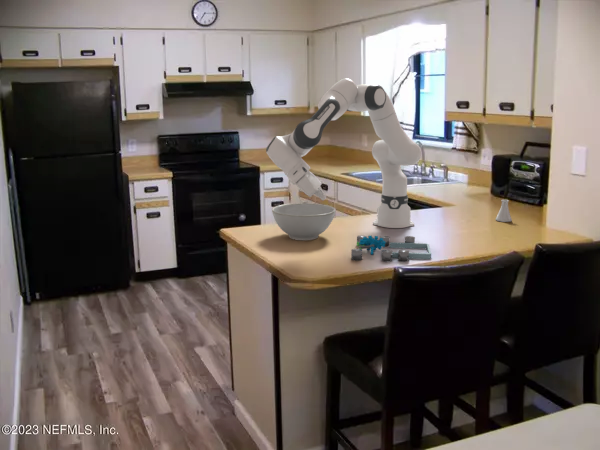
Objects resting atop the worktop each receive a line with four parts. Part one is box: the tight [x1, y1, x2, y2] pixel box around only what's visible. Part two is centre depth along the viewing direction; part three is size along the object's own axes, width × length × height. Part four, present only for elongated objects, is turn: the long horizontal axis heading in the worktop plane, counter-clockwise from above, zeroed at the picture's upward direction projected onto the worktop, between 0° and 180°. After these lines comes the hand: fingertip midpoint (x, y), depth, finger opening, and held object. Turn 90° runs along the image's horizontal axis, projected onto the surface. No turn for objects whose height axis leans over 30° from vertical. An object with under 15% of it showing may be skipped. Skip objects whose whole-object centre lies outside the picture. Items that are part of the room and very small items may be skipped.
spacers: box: [350, 234, 416, 263], centre depth 237 cm, size 26×24×4 cm
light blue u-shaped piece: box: [389, 241, 432, 260], centre depth 236 cm, size 16×15×2 cm
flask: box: [494, 199, 513, 223], centre depth 292 cm, size 7×7×10 cm
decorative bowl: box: [271, 202, 337, 241], centre depth 260 cm, size 27×27×12 cm
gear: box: [356, 235, 386, 256], centre depth 235 cm, size 11×6×10 cm
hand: (324, 198), depth 235 cm, fingers closed
